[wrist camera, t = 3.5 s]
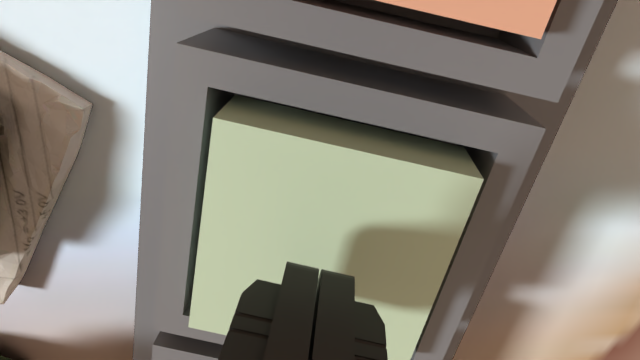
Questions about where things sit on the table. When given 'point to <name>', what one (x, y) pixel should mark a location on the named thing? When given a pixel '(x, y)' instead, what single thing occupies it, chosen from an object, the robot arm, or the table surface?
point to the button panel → (353, 105)
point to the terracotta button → (490, 13)
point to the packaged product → (32, 159)
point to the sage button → (328, 212)
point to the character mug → (4, 358)
